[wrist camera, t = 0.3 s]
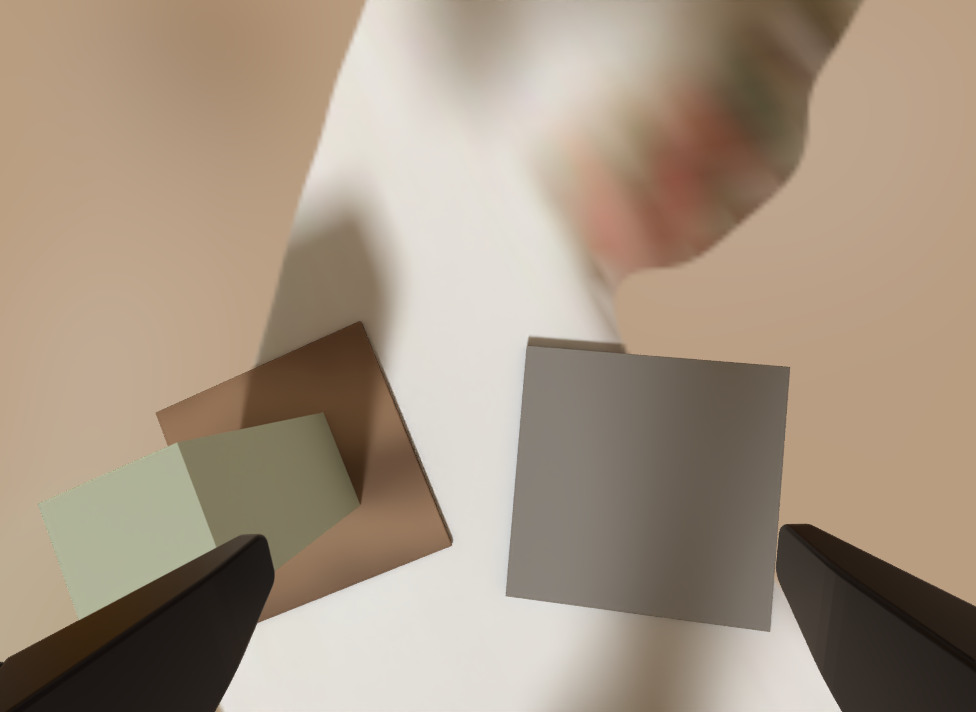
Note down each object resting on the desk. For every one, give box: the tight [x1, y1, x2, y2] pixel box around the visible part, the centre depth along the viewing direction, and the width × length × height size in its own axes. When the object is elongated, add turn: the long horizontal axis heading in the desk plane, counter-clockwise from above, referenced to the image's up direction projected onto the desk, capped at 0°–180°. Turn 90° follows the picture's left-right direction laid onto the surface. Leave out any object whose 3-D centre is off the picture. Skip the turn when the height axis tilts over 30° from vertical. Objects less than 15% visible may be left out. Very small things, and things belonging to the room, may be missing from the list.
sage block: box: [38, 412, 360, 620], centre depth 20 cm, size 5×5×10 cm
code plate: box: [156, 321, 452, 623], centre depth 25 cm, size 12×12×1 cm
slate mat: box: [506, 346, 790, 632], centre depth 23 cm, size 12×12×1 cm
